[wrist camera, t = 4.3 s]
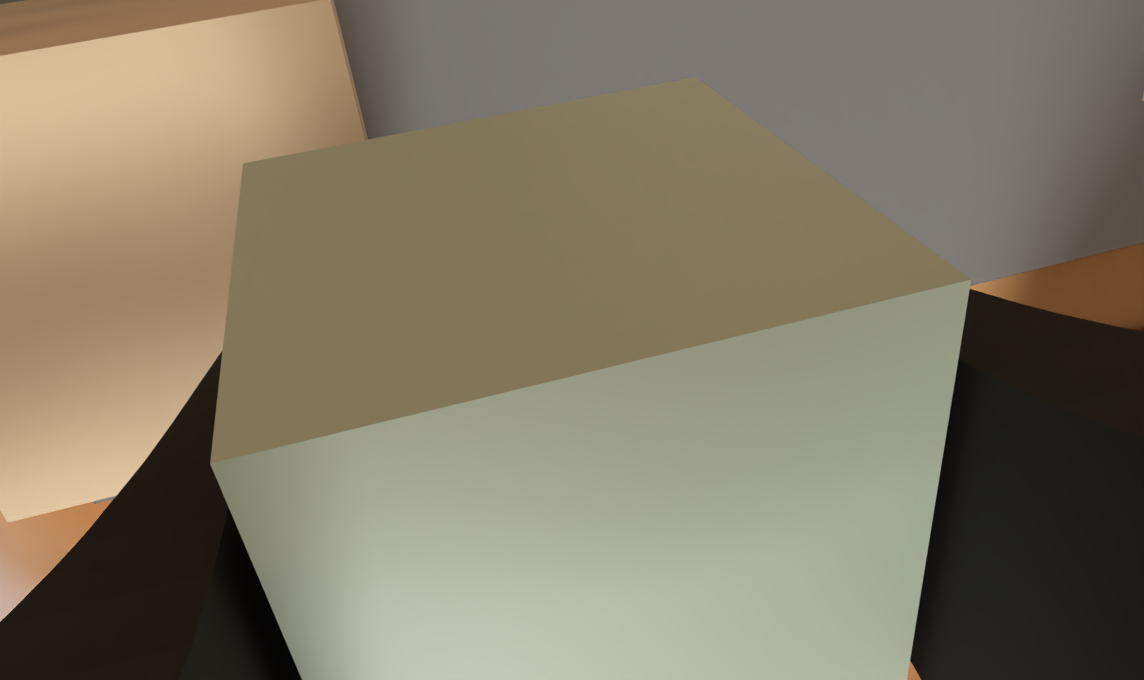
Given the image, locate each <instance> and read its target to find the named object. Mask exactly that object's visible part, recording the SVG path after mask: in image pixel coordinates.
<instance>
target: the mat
mask: <svg viewBox="0 0 1144 680" xmlns="http://www.w3.org/2000/svg"><path fill="white" fill-rule="evenodd" d="M18 1H24V0H0V4H6V3H12V2H18ZM334 3H335V7H336V11H337V15H338V19H339V23H340V27H341V31H342V35H343V39H344V43H345V47H346V51H347V56H348V60H349V64H350V68H351V72H352V76H353V80H354V84H355V88H356V92H357V96H358V100H359V104H360V108H361V112H362V116H363V120H364V124H365V128H366V132H367V136H368V140H369V139H374V138H379V137H384V136H390V135H395V134H400V133H405V132H411V131H416V130H421V129H426V128H432V127H437V126H442V125H447V124H452V123H458V122H463V121H468V120H473V119H479V118H484V117H489V116H494V115H500V114H505V113H510V112H515V111H521V110H526V109H531V108H536V107H542V106H547V105H552V104H557V103H563V102H568V101H573V100H578V99H584V98H589V97H594V96H599V95H605V94H610V93H615V92H620V91H626V90H631V89H636V88H641V87H647V86H652V85H657V84H662V83H668V82H673V81H678V80H683V79H689V78H694V77H696V78H698V79H699V80H700V81H702V82H703V83H705V84H706V85H707V86H709V87H710V88H711V89H713V90H714V91H715V92H717V93H718V94H719V95H721V96H722V97H724V98H725V99H726V100H728V101H729V102H730V103H732V104H733V105H734V106H736V107H737V108H738V109H740V110H741V111H743V112H744V113H745V114H747V115H748V116H749V117H751V118H752V119H753V120H755V121H756V122H758V123H759V124H760V125H762V126H763V127H764V128H766V129H767V130H768V131H770V132H771V133H772V134H774V135H775V136H777V137H778V138H779V139H781V140H782V141H783V142H785V143H786V144H787V145H789V146H790V147H792V148H793V149H794V150H796V151H797V152H798V153H800V154H801V155H802V156H804V157H805V158H806V159H808V160H809V161H811V162H812V163H813V164H815V165H816V166H817V167H819V168H820V169H821V170H823V171H824V172H826V173H827V174H828V175H830V176H831V177H832V178H834V179H835V180H836V181H838V182H839V183H840V184H842V185H843V186H845V187H846V188H847V189H849V190H850V191H851V192H853V193H854V194H855V195H857V196H858V197H860V198H861V199H862V200H864V201H865V202H866V203H868V204H869V205H870V206H872V207H873V208H874V209H876V210H877V211H879V212H880V213H881V214H883V215H884V216H885V217H887V218H888V219H889V220H891V221H892V222H893V223H895V224H896V225H898V226H899V227H900V228H902V229H903V230H904V231H906V232H907V233H908V234H910V235H911V236H913V237H914V238H915V239H917V240H918V241H919V242H921V243H922V244H923V245H925V246H926V247H927V248H929V249H930V250H932V251H933V252H934V253H936V254H937V255H938V256H940V257H941V258H942V259H944V260H945V261H947V262H948V263H949V264H951V265H952V266H953V267H955V268H956V269H957V270H959V271H960V272H961V273H963V274H964V275H966V276H967V277H968V278H970V279H971V284H970V286H971V285H975V284H979V283H983V282H987V281H991V280H995V279H1000V278H1004V277H1008V276H1012V275H1016V274H1020V273H1024V272H1028V271H1032V270H1036V269H1040V268H1044V267H1048V266H1052V265H1056V264H1060V263H1064V262H1068V261H1072V260H1076V259H1080V258H1084V257H1088V256H1092V255H1096V254H1100V253H1104V252H1108V251H1112V250H1116V249H1120V248H1124V247H1128V246H1132V245H1136V244H1140V243H1144V101H1142V98H1143V94H1144V0H334ZM115 497H116V496H113V497H109V498H105V499H101V500H97V501H93V502H94V504H96V503H100V502H104V501H108V500H112V499H114V498H115Z"/></svg>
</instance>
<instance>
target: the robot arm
mask: <svg viewBox="0 0 1144 680" xmlns="http://www.w3.org/2000/svg"><path fill="white" fill-rule="evenodd" d="M222 351H223V350H222ZM221 360H222V352H221V353H220V354H219V356H218V357H217V359H216V360H215V362H214V363H213V364H212V366H211V367H210V369H209V370H208V372H207V373H206V375H205V376H204V377H203V379H202V380H201V382H200V383H199V385H198V386H197V388H196V389H195V391H194V392H193V393H192V395H191V396H190V398H189V399H188V401H187V402H186V404H185V405H184V407H183V408H182V410H181V411H180V412H179V414H178V415H177V417H176V418H175V420H174V421H173V423H172V424H171V425H170V427H169V428H168V430H167V431H166V432H165V434H164V435H163V436H162V438H161V439H160V441H159V442H158V443H157V445H156V446H155V447H154V449H153V450H152V452H151V453H150V454H149V456H148V457H147V459H146V460H145V461H144V462H143V464H142V465H141V466H140V467H139V469H138V470H137V471H136V472H135V474H134V475H133V476H132V477H131V478H130V480H129V481H128V482H127V483H126V485H125V486H124V487H123V488H122V490H121V491H120V492H119V493H118V495H117V496H116V497H115V498H114V499H113V501H112V502H111V503H110V504H109V506H108V507H107V508H106V509H105V511H104V512H103V513H102V514H101V515H100V517H99V518H98V519H97V520H96V522H95V523H94V524H93V525H92V527H91V528H90V529H89V530H88V531H87V532H86V533H85V535H84V536H83V537H82V538H81V539H80V540H79V541H78V543H77V544H76V545H75V546H74V547H73V548H72V549H71V550H70V551H69V552H68V553H67V555H66V556H65V557H64V558H63V559H62V560H61V561H60V562H59V563H58V564H57V565H56V566H55V568H54V569H53V570H52V571H51V572H50V573H49V574H48V575H47V576H46V577H45V578H44V579H43V580H42V581H41V582H40V583H39V584H38V585H37V586H36V587H35V588H34V589H33V590H32V591H31V592H30V593H29V594H28V595H27V596H26V597H25V598H24V599H23V600H22V601H21V602H20V603H19V604H18V605H17V606H16V607H15V608H14V609H13V610H12V611H11V612H10V613H9V614H8V615H7V616H6V617H5V618H4V619H3V620H2V621H1V622H0V680H302V679H301V676H300V674H299V672H298V669H297V667H296V664H295V662H294V660H293V657H292V655H291V653H290V650H289V648H288V646H287V643H286V641H285V639H284V636H283V634H282V632H281V629H280V627H279V625H278V622H277V620H276V617H275V615H274V613H273V610H272V608H271V606H270V603H269V601H268V599H267V596H266V594H265V592H264V589H263V587H262V585H261V582H260V580H259V577H258V575H257V573H256V570H255V568H254V566H253V563H252V561H251V559H250V556H249V554H248V552H247V549H246V547H245V545H244V542H243V540H242V537H241V535H240V533H239V530H238V528H237V526H236V523H235V521H234V519H233V516H232V514H231V512H230V509H229V507H228V505H227V502H226V500H225V498H224V495H223V493H222V490H221V488H220V486H219V483H218V481H217V479H216V476H215V474H214V472H213V469H212V467H211V465H210V461H211V452H212V443H213V433H214V424H215V415H216V406H217V397H218V388H219V378H220V369H221ZM910 661H911V662H912V664H913V666H914V668H915V669H916V671H917V673H918V674H919V676H920V678H921V680H1144V332H1140V331H1135V330H1130V329H1125V328H1120V327H1116V326H1111V325H1107V324H1102V323H1098V322H1093V321H1089V320H1084V319H1080V318H1075V317H1071V316H1066V315H1062V314H1057V313H1054V312H1050V311H1046V310H1042V309H1038V308H1034V307H1030V306H1026V305H1023V304H1019V303H1016V302H1012V301H1009V300H1006V299H1002V298H999V297H995V296H992V295H989V294H985V293H982V292H978V291H975V290H972V289H970V290H969V296H968V302H967V309H966V315H965V321H964V327H963V334H962V340H961V346H960V352H959V358H958V365H957V371H956V377H955V383H954V390H953V396H952V402H951V408H950V415H949V421H948V427H947V433H946V439H945V446H944V452H943V458H942V464H941V471H940V477H939V483H938V489H937V495H936V502H935V508H934V514H933V520H932V527H931V533H930V539H929V545H928V552H927V558H926V564H925V570H924V576H923V583H922V589H921V595H920V601H919V608H918V614H917V620H916V626H915V632H914V639H913V645H912V651H911V657H910Z"/></svg>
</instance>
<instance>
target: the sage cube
mask: <svg viewBox="0 0 1144 680" xmlns="http://www.w3.org/2000/svg"><path fill="white" fill-rule="evenodd" d="M970 284H971V279H970V278H968V277H967V276H966V275H964V274H963V273H961V272H960V271H959V270H957V269H956V268H955V267H953V266H952V265H951V264H949V263H948V262H947V261H945V260H944V259H942V258H941V257H940V256H938V255H937V254H936V253H934V252H933V251H932V250H930V249H929V248H927V247H926V246H925V245H923V244H922V243H921V242H919V241H918V240H917V239H915V238H914V237H913V236H911V235H910V234H908V233H907V232H906V231H904V230H903V229H902V228H900V227H899V226H898V225H896V224H895V223H893V222H892V221H891V220H889V219H888V218H887V217H885V216H884V215H883V214H881V213H880V212H879V211H877V210H876V209H874V208H873V207H872V206H870V205H869V204H868V203H866V202H865V201H864V200H862V199H861V198H860V197H858V196H857V195H855V194H854V193H853V192H851V191H850V190H849V189H847V188H846V187H845V186H843V185H842V184H840V183H839V182H838V181H836V180H835V179H834V178H832V177H831V176H830V175H828V174H827V173H826V172H824V171H823V170H821V169H820V168H819V167H817V166H816V165H815V164H813V163H812V162H811V161H809V160H808V159H806V158H805V157H804V156H802V155H801V154H800V153H798V152H797V151H796V150H794V149H793V148H792V147H790V146H789V145H787V144H786V143H785V142H783V141H782V140H781V139H779V138H778V137H777V136H775V135H774V134H772V133H771V132H770V131H768V130H767V129H766V128H764V127H763V126H762V125H760V124H759V123H758V122H756V121H755V120H753V119H752V118H751V117H749V116H748V115H747V114H745V113H744V112H743V111H741V110H740V109H738V108H737V107H736V106H734V105H733V104H732V103H730V102H729V101H728V100H726V99H725V98H724V97H722V96H721V95H719V94H718V93H717V92H715V91H714V90H713V89H711V88H710V87H709V86H707V85H706V84H705V83H703V82H702V81H700V80H699V79H698V78H696V77H694V78H689V79H683V80H678V81H673V82H668V83H662V84H657V85H652V86H647V87H641V88H636V89H631V90H626V91H620V92H615V93H610V94H605V95H599V96H594V97H589V98H584V99H578V100H573V101H568V102H563V103H557V104H552V105H547V106H542V107H536V108H531V109H526V110H521V111H515V112H510V113H505V114H500V115H494V116H489V117H484V118H479V119H473V120H468V121H463V122H458V123H452V124H447V125H442V126H437V127H432V128H426V129H421V130H416V131H411V132H405V133H400V134H395V135H390V136H384V137H379V138H374V139H369V140H363V141H358V142H353V143H348V144H342V145H337V146H332V147H327V148H321V149H316V150H311V151H306V152H300V153H295V154H290V155H285V156H279V157H274V158H269V159H264V160H258V161H253V162H248V163H243V167H242V176H241V186H240V195H239V204H238V213H237V222H236V231H235V241H234V250H233V259H232V268H231V277H230V287H229V296H228V305H227V314H226V323H225V332H224V342H223V351H222V360H221V369H220V378H219V388H218V397H217V406H216V415H215V424H214V433H213V443H212V452H211V461H210V465H211V467H212V469H213V472H214V474H215V476H216V479H217V481H218V483H219V486H220V488H221V490H222V493H223V495H224V498H225V500H226V502H227V505H228V507H229V509H230V512H231V514H232V516H233V519H234V521H235V523H236V526H237V528H238V530H239V533H240V535H241V537H242V540H243V542H244V545H245V547H246V549H247V552H248V554H249V556H250V559H251V561H252V563H253V566H254V568H255V570H256V573H257V575H258V577H259V580H260V582H261V585H262V587H263V589H264V592H265V594H266V596H267V599H268V601H269V603H270V606H271V608H272V610H273V613H274V615H275V617H276V620H277V622H278V625H279V627H280V629H281V632H282V634H283V636H284V639H285V641H286V643H287V646H288V648H289V650H290V653H291V655H292V657H293V660H294V662H295V664H296V667H297V669H298V672H299V674H300V676H301V679H302V680H907V676H908V670H909V664H910V657H911V651H912V645H913V639H914V632H915V626H916V620H917V614H918V608H919V601H920V595H921V589H922V583H923V576H924V570H925V564H926V558H927V552H928V545H929V539H930V533H931V527H932V520H933V514H934V508H935V502H936V495H937V489H938V483H939V477H940V471H941V464H942V458H943V452H944V446H945V439H946V433H947V427H948V421H949V415H950V408H951V402H952V396H953V390H954V383H955V377H956V371H957V365H958V358H959V352H960V346H961V340H962V334H963V327H964V321H965V315H966V309H967V302H968V296H969V290H970Z"/></svg>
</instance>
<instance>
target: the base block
mask: <svg viewBox="0 0 1144 680" xmlns="http://www.w3.org/2000/svg"><path fill="white" fill-rule="evenodd" d="M363 140H368V136H367V132H366V128H365V124H364V120H363V116H362V112H361V108H360V104H359V100H358V96H357V92H356V88H355V84H354V80H353V76H352V72H351V68H350V64H349V60H348V56H347V51H346V47H345V43H344V39H343V35H342V31H341V27H340V23H339V19H338V15H337V11H336V7H335V3H334V0H24V1H18V2H12V3H6V4H0V511H1V512H2V514H3V516H4V517H5V519H6V520H7V522H12V521H16V520H20V519H24V518H28V517H32V516H36V515H40V514H44V513H49V512H53V511H57V510H61V509H65V508H69V507H73V506H77V505H81V504H85V503H89V502H93V501H97V500H101V499H105V498H109V497H113V496H117V495H118V493H119V492H120V491H121V490H122V488H123V487H124V486H125V485H126V483H127V482H128V481H129V480H130V478H131V477H132V476H133V475H134V474H135V472H136V471H137V470H138V469H139V467H140V466H141V465H142V464H143V462H144V461H145V460H146V459H147V457H148V456H149V454H150V453H151V452H152V450H153V449H154V447H155V446H156V445H157V443H158V442H159V441H160V439H161V438H162V436H163V435H164V434H165V432H166V431H167V430H168V428H169V427H170V425H171V424H172V423H173V421H174V420H175V418H176V417H177V415H178V414H179V412H180V411H181V410H182V408H183V407H184V405H185V404H186V402H187V401H188V399H189V398H190V396H191V395H192V393H193V392H194V391H195V389H196V388H197V386H198V385H199V383H200V382H201V380H202V379H203V377H204V376H205V375H206V373H207V372H208V370H209V369H210V367H211V366H212V364H213V363H214V362H215V360H216V359H217V357H218V356H219V354H220V353H221V352H222V350H223V342H224V332H225V323H226V314H227V305H228V296H229V287H230V277H231V268H232V259H233V250H234V241H235V231H236V222H237V213H238V204H239V195H240V186H241V176H242V167H243V163H248V162H253V161H258V160H264V159H269V158H274V157H279V156H285V155H290V154H295V153H300V152H306V151H311V150H316V149H321V148H327V147H332V146H337V145H342V144H348V143H353V142H358V141H363Z"/></svg>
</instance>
